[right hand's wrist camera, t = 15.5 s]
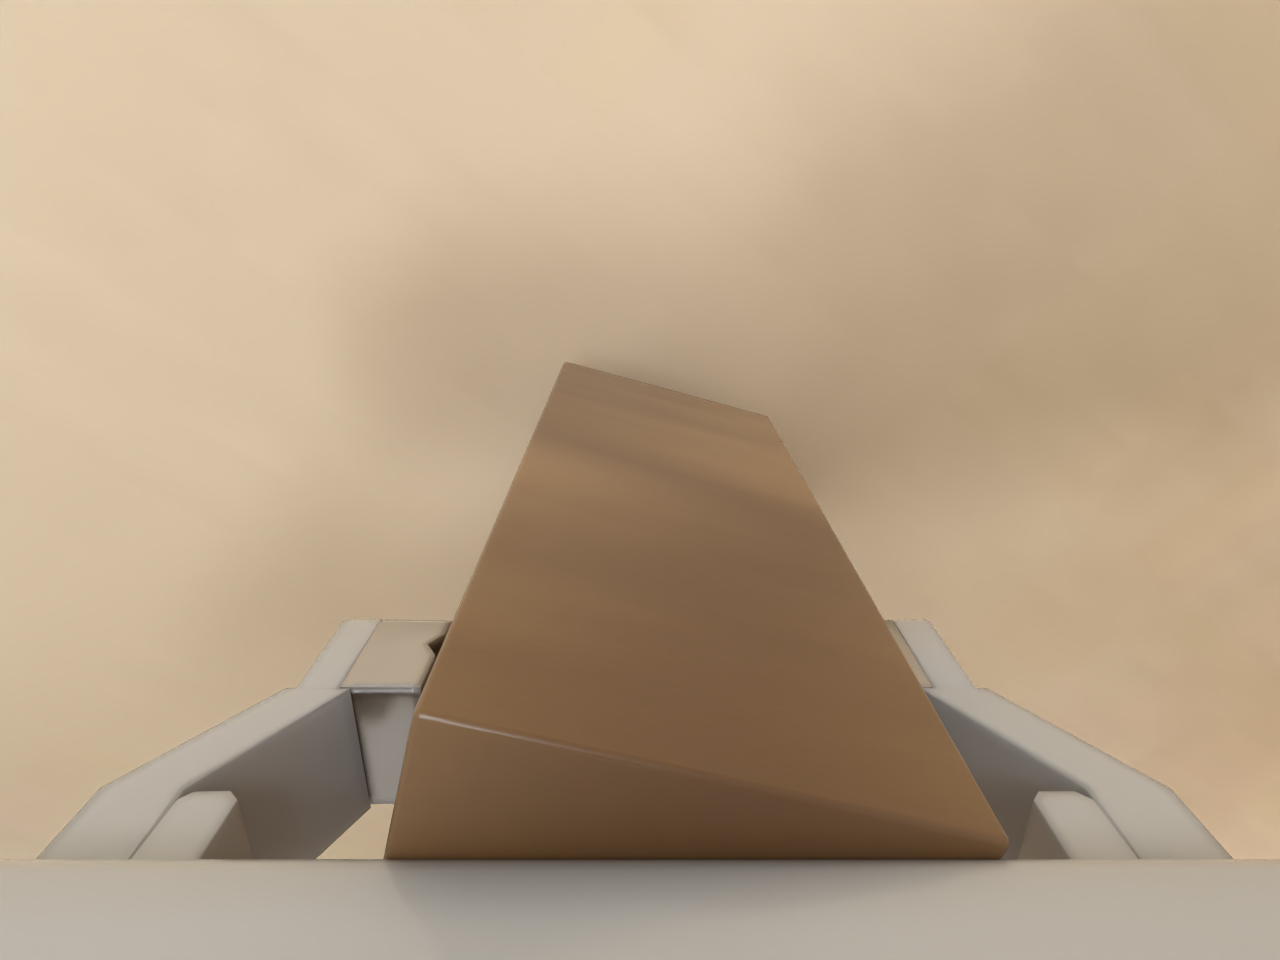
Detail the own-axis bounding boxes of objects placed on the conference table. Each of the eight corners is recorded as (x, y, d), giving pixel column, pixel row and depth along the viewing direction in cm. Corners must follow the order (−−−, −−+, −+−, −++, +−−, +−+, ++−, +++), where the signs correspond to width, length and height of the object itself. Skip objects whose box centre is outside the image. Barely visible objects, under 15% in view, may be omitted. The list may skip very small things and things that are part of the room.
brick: (514, 564, 17) (327, 1132, 7) (564, 360, 15) (411, 711, 5) (700, 609, 17) (787, 1205, 7) (769, 416, 16) (1014, 844, 5)
